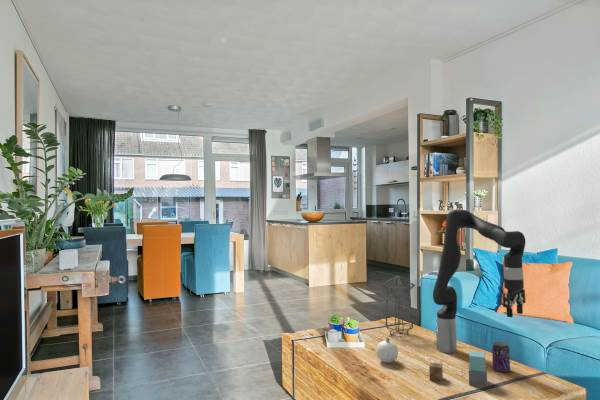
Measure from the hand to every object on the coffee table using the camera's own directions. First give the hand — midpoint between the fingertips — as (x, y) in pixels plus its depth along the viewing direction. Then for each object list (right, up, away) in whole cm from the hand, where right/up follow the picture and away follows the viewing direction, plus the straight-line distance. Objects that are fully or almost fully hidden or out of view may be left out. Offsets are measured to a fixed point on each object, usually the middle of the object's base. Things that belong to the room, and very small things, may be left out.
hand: (514, 315), depth 180 cm
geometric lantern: (-34, -31, +68) cm, 82 cm away
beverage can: (-1, -28, +10) cm, 30 cm away
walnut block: (-33, -29, +2) cm, 44 cm away
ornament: (-50, -30, +24) cm, 63 cm away
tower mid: (-17, -22, -3) cm, 28 cm away
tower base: (-17, -28, -3) cm, 33 cm away
